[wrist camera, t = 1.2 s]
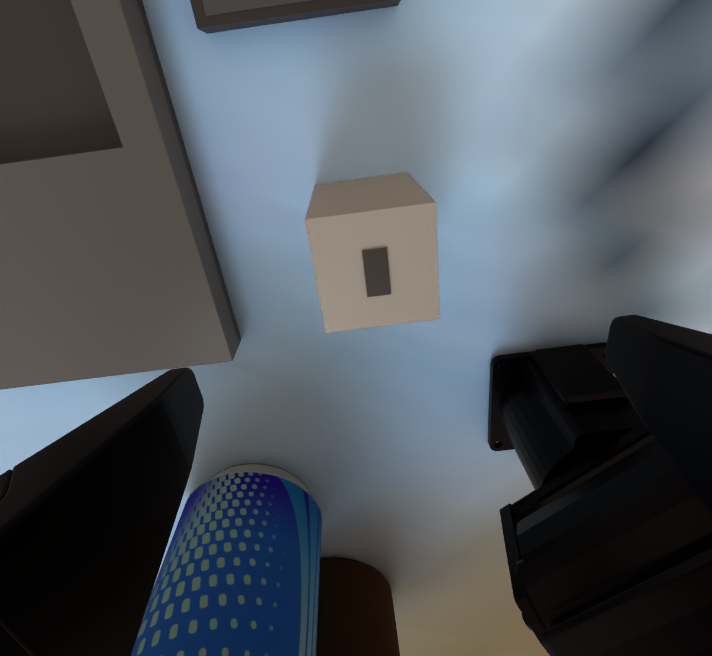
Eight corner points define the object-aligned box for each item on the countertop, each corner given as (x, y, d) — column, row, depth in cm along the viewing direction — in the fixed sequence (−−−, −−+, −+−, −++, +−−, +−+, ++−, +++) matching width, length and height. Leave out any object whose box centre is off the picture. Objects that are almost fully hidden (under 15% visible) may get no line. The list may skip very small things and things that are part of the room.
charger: (413, 260, 20) (440, 319, 15) (329, 271, 20) (325, 334, 15) (407, 172, 18) (436, 202, 13) (315, 184, 18) (304, 220, 13)
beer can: (222, 553, 30) (115, 961, 16) (167, 470, 26) (-40, 917, 12) (337, 530, 29) (334, 938, 15) (299, 441, 25) (247, 882, 11)
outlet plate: (241, 339, 22) (232, 360, 20) (-24, 372, 22) (-56, 396, 20) (94, -163, 13) (55, -204, 11) (-337, -94, 13) (-439, -123, 12)
